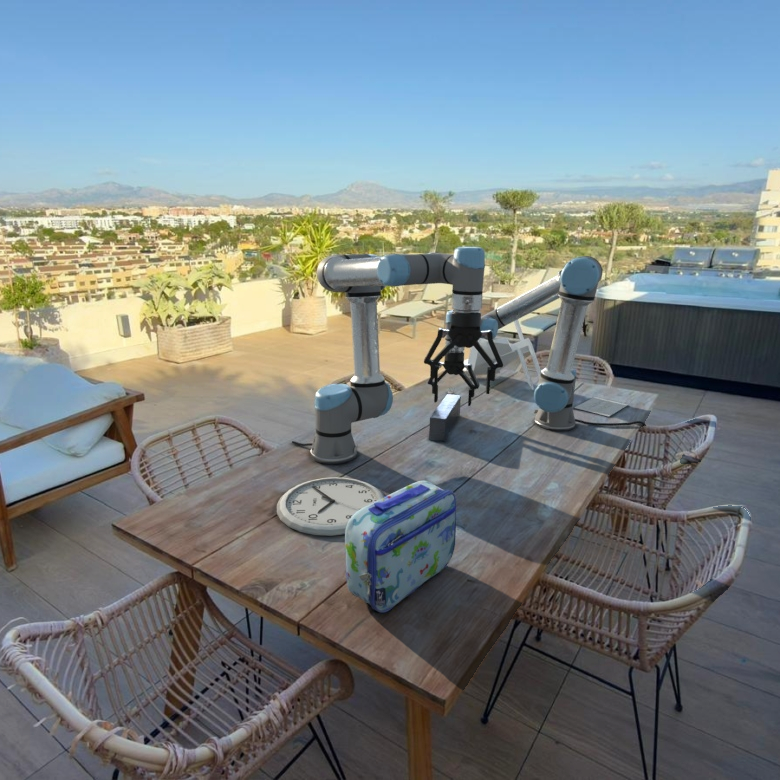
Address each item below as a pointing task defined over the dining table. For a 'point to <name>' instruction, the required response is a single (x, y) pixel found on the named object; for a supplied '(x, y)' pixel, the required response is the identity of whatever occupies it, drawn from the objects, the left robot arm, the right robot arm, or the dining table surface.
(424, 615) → the dining table surface
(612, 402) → the invitation card
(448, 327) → the right robot arm
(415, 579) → the lunch box
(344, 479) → the wall clock
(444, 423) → the bar
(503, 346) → the white plastic object
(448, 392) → the fork
